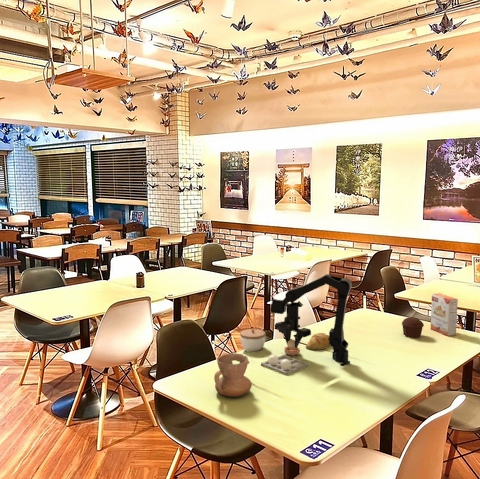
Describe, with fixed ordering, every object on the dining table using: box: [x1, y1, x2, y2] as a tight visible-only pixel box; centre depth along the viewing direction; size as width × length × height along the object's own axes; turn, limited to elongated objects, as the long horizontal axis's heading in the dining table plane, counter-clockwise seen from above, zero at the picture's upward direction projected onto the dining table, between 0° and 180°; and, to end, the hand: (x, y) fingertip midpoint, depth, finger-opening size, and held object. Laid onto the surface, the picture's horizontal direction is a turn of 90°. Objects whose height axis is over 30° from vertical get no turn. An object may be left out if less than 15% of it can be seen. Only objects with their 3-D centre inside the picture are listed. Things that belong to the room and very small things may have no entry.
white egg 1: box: [267, 354, 279, 366], centre depth 207 cm, size 5×5×5 cm
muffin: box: [401, 316, 425, 339], centre depth 251 cm, size 12×11×10 cm
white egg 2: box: [281, 359, 291, 370], centre depth 201 cm, size 5×5×5 cm
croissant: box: [305, 332, 330, 351], centre depth 236 cm, size 21×10×8 cm, turn 134°
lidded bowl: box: [240, 328, 266, 353], centre depth 229 cm, size 13×13×11 cm
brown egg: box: [286, 338, 295, 350], centre depth 221 cm, size 5×5×5 cm
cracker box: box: [430, 293, 459, 337], centre depth 256 cm, size 14×6×21 cm, turn 17°
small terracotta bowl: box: [283, 346, 301, 357], centre depth 221 cm, size 7×7×4 cm
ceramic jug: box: [213, 352, 252, 398], centre depth 181 cm, size 18×14×14 cm
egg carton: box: [260, 354, 310, 376], centre depth 207 cm, size 16×16×2 cm
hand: (292, 346), depth 221 cm, fingers closed on brown egg, 5 cm apart
